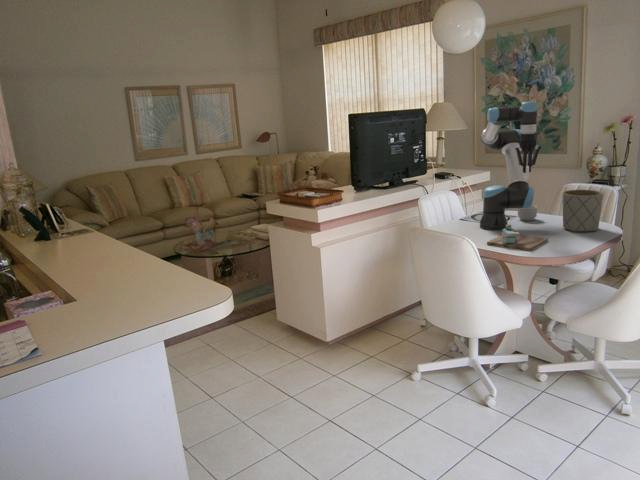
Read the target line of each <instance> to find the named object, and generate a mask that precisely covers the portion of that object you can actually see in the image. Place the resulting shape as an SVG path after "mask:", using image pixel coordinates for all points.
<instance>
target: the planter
mask: <svg viewBox="0 0 640 480" xmlns="http://www.w3.org/2000/svg"><path fill="white" fill-rule="evenodd" d="M603 198H604V192H603V191H600V190H595V189H570V190H564V191H563V192H562V228H563V229H565V230H568V231H569V232H571V233H573V232H574V233H575V232H577V233H578V232H594V233H595V232H597V230H598V229H599V225H600V220H601V213H602V212H601V211H602V206H603V200H604V199H603Z"/></svg>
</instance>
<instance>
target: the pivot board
mask: <svg viewBox="0 0 640 480" xmlns="http://www.w3.org/2000/svg"><path fill="white" fill-rule="evenodd" d="M511 228H512V224H508V225H506V229H508V230H510V229H511ZM507 236H515V238H516V242H515V243H507ZM548 241H549V238H548V237H541V236H532V235H526V234H525V235H524V234H520V232H518V231H514V232H503V231H502V232H501V234H500V235H499V236H496V237H494V238H493V239H490V240H489V241H487V242H486V245H488V246H494V247H500V248H507V249H513V250H520V251H525V252H526V251H528V252H532V251H534V250H535V249H536V248H538V247H540V246H542V245H544V244H546V243H547V242H548Z"/></svg>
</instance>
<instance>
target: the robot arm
mask: <svg viewBox="0 0 640 480" xmlns="http://www.w3.org/2000/svg"><path fill="white" fill-rule="evenodd" d="M486 114H487V115H486V118H487V125H486V127H485V129H484V130H483V131H482V132H481V134H480V141H481V144H482V145H483V146H484V147H485V148H487V149H488V150H491V151H501V154H503V155H504V158H505V159H504V160H505V164H506V170H507V177H508V178H507V179H508V185H507V187H506V185H504V184H503V185H500V184H499V185H498V184H497V185H492V186H488V187H486V188H484V190H483V194H482V198H483V200H482V202H483V203H482V204H483V205H482V207H483V208H482V216H481V219H480V221H479V228H481V229H483V230H490V231H491V230H492V231H493V230H494V231H495V230H496V231H498V230H503V229H504V228H506V225H509V224H508V221H507V217H506V214H505V213H506V209H507V210H508V209H517V208H529V207H530V206H531V205H533V203H534V202H533V201H534V196H535V190H534V187H533V186H530V184H529V183H528V181H527V180H529V179H530V173H531V172H532V166H535V165H536V163H537V159H538V155H539V151H540V150H541V148H542V146H541V145H538V144H537V133H536V132H537V126H538V125H537V123H538V122H537V120H538V102H537V101H526V102H525V101H524V102H522V103H521V105H517V106H516V105H515V106H505V107H503V106H501V107H490V108H489V109H487V113H486ZM508 122H520V129H515V128H513V129H504V130H501V128H502V126H503V124H504V123H508ZM533 150H534V153H533ZM521 152H522V154H521Z"/></svg>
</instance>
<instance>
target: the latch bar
mask: <svg viewBox="0 0 640 480" xmlns="http://www.w3.org/2000/svg"><path fill="white" fill-rule="evenodd" d="M502 232H515V229H514V228H512V227H511V229H510V230H508V229H506V228H504V229H502ZM515 242H516V238H515V236H507V243H515Z"/></svg>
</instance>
